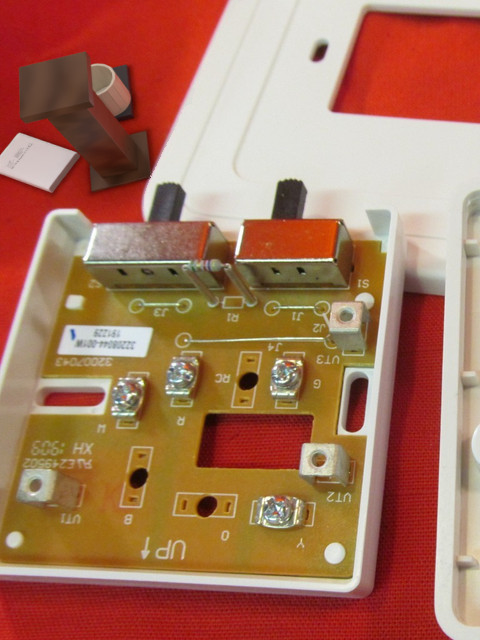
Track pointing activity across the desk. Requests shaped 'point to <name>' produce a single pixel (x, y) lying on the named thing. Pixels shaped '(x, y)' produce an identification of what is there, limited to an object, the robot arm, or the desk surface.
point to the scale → (125, 78)
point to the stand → (83, 120)
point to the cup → (110, 88)
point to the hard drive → (36, 162)
